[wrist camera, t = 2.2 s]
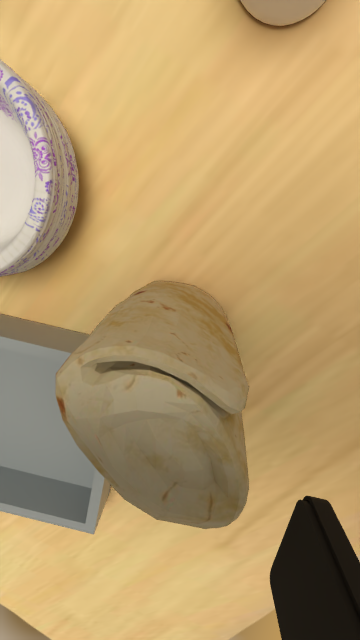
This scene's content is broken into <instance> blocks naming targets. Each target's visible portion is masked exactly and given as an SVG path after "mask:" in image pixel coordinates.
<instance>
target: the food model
mask: <svg viewBox="0 0 360 640" xmlns="http://www.w3.org/2000/svg"><path fill="white" fill-rule="evenodd" d="M248 390H249V385H248V382H247V379H246V377H245V374H244V371H243V367H242V364H241V360H240V356H239V353H238V349H237V346H236V342H235V339H234V336H233V333H232V330H231V328H230V325H229V323H228V320H227V317H226V315H225V313H224V312H223V310H222V308H221V307H220V306H219V304H218V303H217V302H216V301H215V300H214V298H212V297H211V296H210V295H208V294H207V293H206V292H204V291H202V290H201V289H199V288H197V287H195V286H192V285H188V284H184V283H176V282H166V281H154V282H152V283H150V284H148V285H146V286H145V287H143V288H141V289H139V290H137V291H135V292H134V293H133V294H131V295H130V297H128V298H127V299H126V300H124V301H123V302H121V303H119V304H118V305H117V306H116V307H115V308H113V309H112V310H111V311H110V313H109V314H108V315H107V316H106V317H105V318H104V319H103V320H102V321H101V322H100V323H99V324H98V326H97V327H96V328H95V329H94V331H93V332H92V333H91V335H90V336H89V337H88V338H87V340H86V341H85V342H84V343H83V344H82V345H80V346H79V347H78V348H77V349H76V350H75V351H74V352H73V353H72V354H71V355H70V356H69V357H68V359H67V360H66V361H65V362H64V364H63V365H62V366H61V368H60V369H59V370H58V372H57V373H56V390H55V394H56V399H57V402H58V406H59V409H60V413H61V416H62V420H63V422H64V423H65V425H66V427H67V429H68V431H69V432H70V434H71V436H72V438H73V439H74V441H75V443H76V445H77V446H78V447H79V448H80V450H81V451H82V452H83V453H84V455H85V456H86V457H87V458H88V459H89V461H90V462H91V463H92V464H93V466H94V467H95V468H96V469H97V470H98V472H99V473H100V474H101V475H102V476H103V477H104V478H105V479H106V480H107V481H108V482H109V483H110V484H111V486H112V487H113V488H114V489H115V490H116V491H117V492H118V493H119V494H120V495H121V496H122V497H123V498H124V500H126V501H128V502H129V503H131V504H132V505H134V506H136V507H137V508H139V509H141V510H142V511H144V512H145V513H147V514H149V515H150V516H152V517H154V518H155V519H157V520H162V521H168V522H173V523H178V524H183V525H188V526H193V527H198V528H203V529H207V528H220V527H224V526H227V525H229V524H230V523H231V522H233V521H234V520H236V519H237V518H238V516H239V515H240V513H241V512H242V510H243V508H244V506H245V504H246V501H247V495H248V490H249V479H248V468H247V457H246V447H245V438H244V428H243V421H242V413H241V411H242V410H243V409H244V408H245V405H246V400H247V395H248Z"/></svg>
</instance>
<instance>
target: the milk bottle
mask: <svg viewBox="0 0 360 640" xmlns="http://www.w3.org/2000/svg"><path fill="white" fill-rule="evenodd" d="M241 2H242V4H243V5H244V7H245V8H246V9H247V11H248V12H249V13H250V14H252V15H253V16H254V17H255V18H256V19H258V20H260V21H261V22H263V23H266V24H270V25H277V26H284V25H289V24H293V23H296V22H298V21H301V20H303V19H305V18H306V17H308V16H310V15H311V14H312V13H314V12H315V11H316V10H317V9H318V8H319V7H320V6H321V5H322V4H323V3H324V2H325V0H241Z"/></svg>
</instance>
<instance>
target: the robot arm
mask: <svg viewBox="0 0 360 640" xmlns="http://www.w3.org/2000/svg"><path fill="white" fill-rule="evenodd" d="M270 585H271V590H272V595H273V600H274V604H275V609H276V613H277V619H278V623H279V628H280V633H281V638H282V640H360V562H359V560H358V558H357V556H356V554H355V552H354V550H353V548H352V546H351V544H350V542H349V540H348V538H347V536H346V534H345V532H344V530H343V528H342V526H341V524H340V522H339V520H338V518H337V516H336V514H335V512H334V510H333V508H332V506H331V504H330V503H329V502H328V501H327V500H324V499H320V498H315V497H311V496H305V497H304V499H303V500H298V502H297V503H296V506H295V509H294V511H293V514H292V516H291V519H290V521H289V524H288V527H287V529H286V532H285V534H284V537H283V539H282V542H281V545H280V547H279V550H278V552H277V555H276V557H275V560H274V562H273V565H272V568H271V572H270Z"/></svg>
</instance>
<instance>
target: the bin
mask: <svg viewBox="0 0 360 640" xmlns="http://www.w3.org/2000/svg"><path fill="white" fill-rule="evenodd" d="M89 336H90V335H88V334H84V333H80V332H75V331H71V330H67V329H63V328H59V327H54V326H50V325H46V324H42V323H38V322H33V321H29V320H25V319H21V318H17V317H12V316H8V315H4V314H0V511H2V512H6V513H10V514H14V515H18V516H22V517H26V518H30V519H34V520H38V521H42V522H46V523H50V524H54V525H58V526H62V527H66V528H70V529H74V530H78V531H82V532H86V533H90V534H94V533H95V530H96V527H97V525H98V522H99V519H100V517H101V514H102V511H103V509H104V506H105V503H106V501H107V498H108V495H109V492H110V487H111V484H110V483H109V482H108V481H107V480H106V479H105V478H104V477H103V476H102V475H101V474H100V473H99V472H98V470H97V469H96V468H95V467H94V466H93V464H92V463H91V462H90V461H89V459H88V458H87V457H86V456H85V455H84V453H83V452H82V451H81V450H80V448H79V447H78V446H77V445H76V443H75V441H74V439H73V438H72V436H71V434H70V432H69V431H68V429H67V427H66V425H65V423H64V422H63V420H62V416H61V413H60V409H59V406H58V402H57V399H56V394H55V390H56V373H57V372H58V370H59V369H60V368H61V366H62V365H63V364H64V362H65V361H66V360H67V359H68V357H69V356H70V355H71V354H72V353H73V352H74V351H75V350H76V349H77V348H78V347H79V346H80V345H82V344H83V343H84V342H85V341H86V340H87V338H88V337H89Z"/></svg>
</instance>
